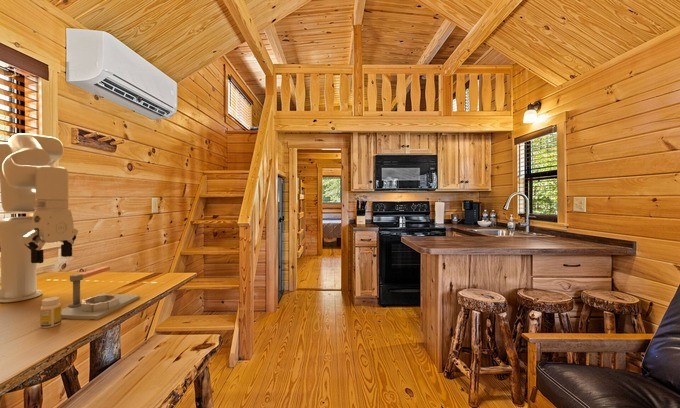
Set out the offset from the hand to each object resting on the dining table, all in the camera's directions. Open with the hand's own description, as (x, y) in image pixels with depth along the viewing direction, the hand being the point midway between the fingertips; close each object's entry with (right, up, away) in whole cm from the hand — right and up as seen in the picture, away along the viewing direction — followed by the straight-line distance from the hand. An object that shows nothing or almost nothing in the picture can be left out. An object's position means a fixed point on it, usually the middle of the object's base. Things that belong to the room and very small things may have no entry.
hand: (52, 259), depth 96 cm
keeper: (-4, -10, +19) cm, 22 cm away
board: (+2, -20, +16) cm, 26 cm away
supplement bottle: (-1, -21, 0) cm, 21 cm away
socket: (+4, -19, +14) cm, 24 cm away
